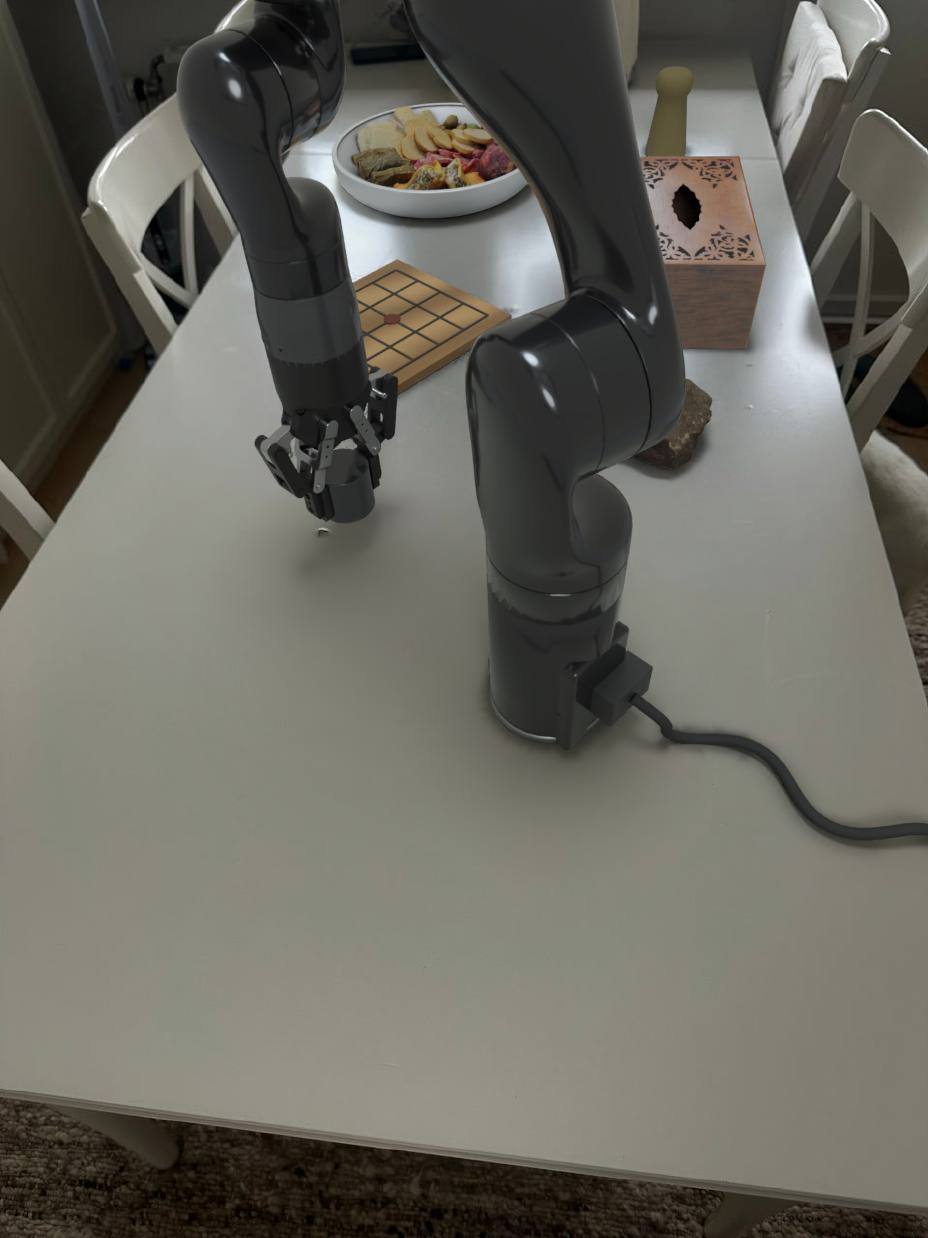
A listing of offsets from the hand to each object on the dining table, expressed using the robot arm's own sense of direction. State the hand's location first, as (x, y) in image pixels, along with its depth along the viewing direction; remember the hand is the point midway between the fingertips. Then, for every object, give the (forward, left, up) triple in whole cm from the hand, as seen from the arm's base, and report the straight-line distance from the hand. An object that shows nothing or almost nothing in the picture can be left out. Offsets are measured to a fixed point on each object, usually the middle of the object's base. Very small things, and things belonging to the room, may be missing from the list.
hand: (347, 499), depth 78 cm
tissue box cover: (+3, -54, -4) cm, 55 cm away
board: (+22, -26, -4) cm, 34 cm away
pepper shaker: (+26, -85, -4) cm, 88 cm away
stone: (-11, -29, -4) cm, 31 cm away
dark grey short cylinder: (0, 0, -1) cm, 1 cm away
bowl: (+46, -57, -4) cm, 73 cm away
